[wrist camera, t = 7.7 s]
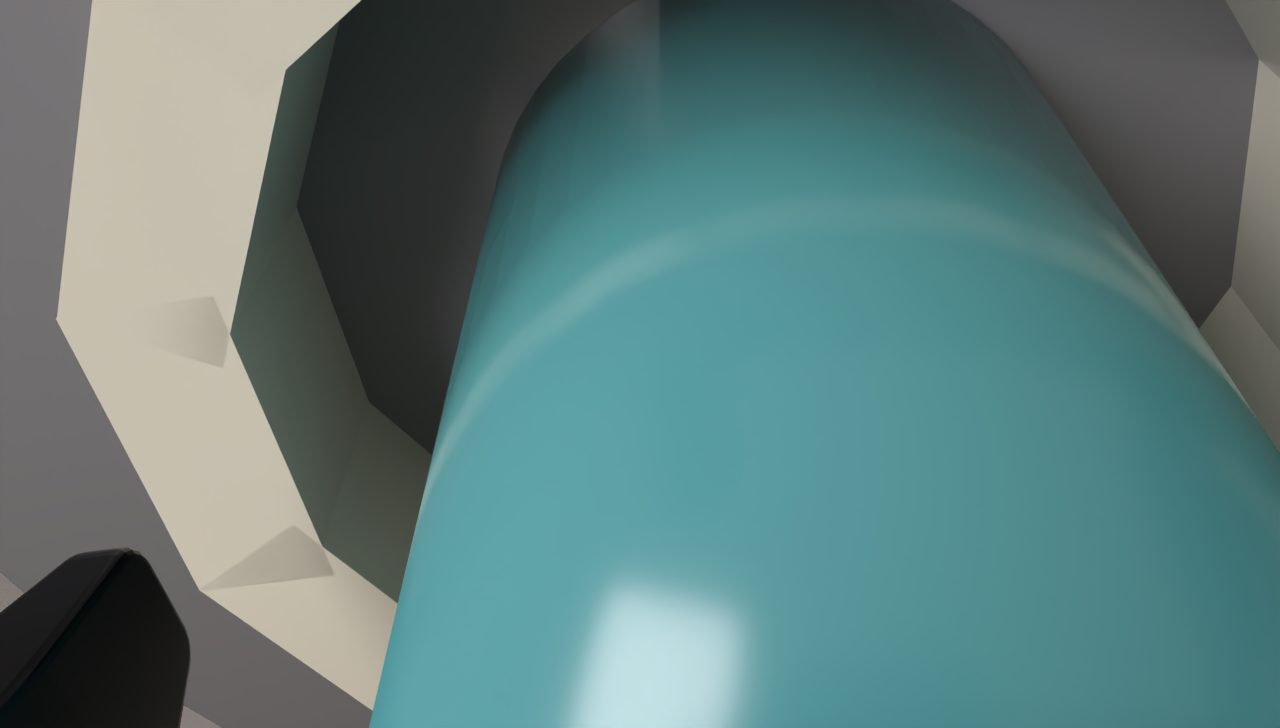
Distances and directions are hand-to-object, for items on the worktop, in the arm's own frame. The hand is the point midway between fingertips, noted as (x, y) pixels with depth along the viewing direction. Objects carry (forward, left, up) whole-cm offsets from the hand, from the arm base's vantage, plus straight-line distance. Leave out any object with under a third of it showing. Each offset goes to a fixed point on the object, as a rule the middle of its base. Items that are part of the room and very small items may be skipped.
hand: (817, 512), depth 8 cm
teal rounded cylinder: (0, 0, -4) cm, 4 cm away
